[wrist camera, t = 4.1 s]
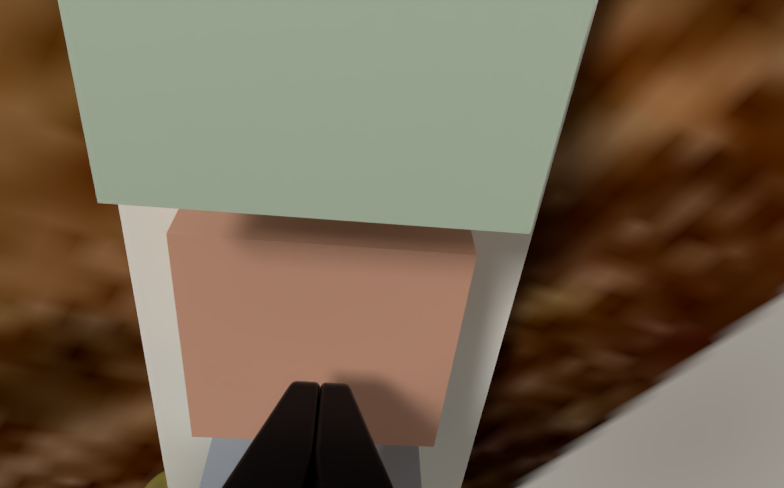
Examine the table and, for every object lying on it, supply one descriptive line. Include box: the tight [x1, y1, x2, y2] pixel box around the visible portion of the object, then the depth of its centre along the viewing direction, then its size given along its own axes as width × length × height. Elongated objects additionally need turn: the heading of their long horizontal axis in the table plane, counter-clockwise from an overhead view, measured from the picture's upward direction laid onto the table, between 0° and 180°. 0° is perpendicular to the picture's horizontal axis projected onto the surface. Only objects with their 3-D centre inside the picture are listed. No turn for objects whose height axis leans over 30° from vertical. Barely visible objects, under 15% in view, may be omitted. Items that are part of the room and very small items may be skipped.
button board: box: [118, 0, 598, 488], centre depth 13 cm, size 8×19×2 cm, turn 174°
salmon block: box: [166, 209, 477, 447], centre depth 12 cm, size 4×4×5 cm
